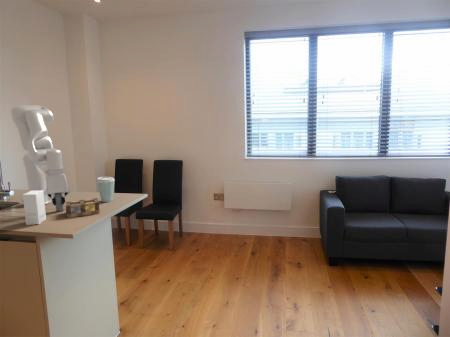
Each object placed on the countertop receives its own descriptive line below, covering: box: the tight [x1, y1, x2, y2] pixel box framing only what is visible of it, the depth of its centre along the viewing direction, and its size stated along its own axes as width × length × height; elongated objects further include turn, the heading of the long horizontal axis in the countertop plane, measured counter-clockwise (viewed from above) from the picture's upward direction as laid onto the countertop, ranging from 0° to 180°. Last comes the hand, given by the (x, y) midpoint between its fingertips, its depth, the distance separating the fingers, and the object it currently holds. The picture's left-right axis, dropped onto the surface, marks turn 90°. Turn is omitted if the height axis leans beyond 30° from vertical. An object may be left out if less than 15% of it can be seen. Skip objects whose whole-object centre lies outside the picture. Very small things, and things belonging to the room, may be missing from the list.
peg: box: [54, 193, 64, 213], centre depth 176 cm, size 4×4×11 cm
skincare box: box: [22, 190, 47, 226], centre depth 157 cm, size 8×7×16 cm
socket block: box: [65, 197, 101, 219], centre depth 171 cm, size 16×11×6 cm
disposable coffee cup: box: [96, 176, 116, 203], centre depth 195 cm, size 11×11×15 cm
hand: (59, 204), depth 176 cm, fingers closed on peg, 3 cm apart
